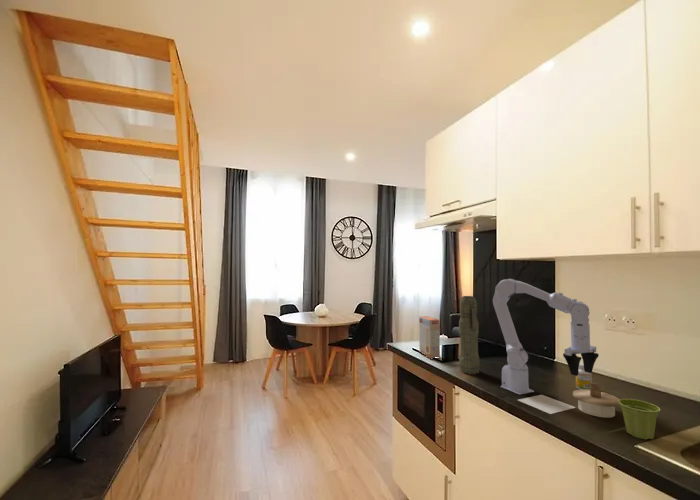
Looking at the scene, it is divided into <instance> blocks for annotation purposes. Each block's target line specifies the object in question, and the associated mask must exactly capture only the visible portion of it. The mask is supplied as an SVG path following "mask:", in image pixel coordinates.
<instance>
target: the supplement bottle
mask: <svg viewBox="0 0 700 500" xmlns="http://www.w3.org/2000/svg"><path fill="white" fill-rule="evenodd" d="M592 375H593V373H588V372H585V370H584V364H583V362H580V363H579V371H578V376H575V388H577V390H581V389H585V390H590V383H593V377H592Z"/></svg>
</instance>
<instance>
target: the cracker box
mask: <svg viewBox="0 0 700 500" xmlns="http://www.w3.org/2000/svg"><path fill="white" fill-rule="evenodd" d="M418 319H419V320H418V321H419V322H418V324H419V325H418V326H419V331H418V332H419V335H418V336H419V338H418V339H419V345H418V346H419V349H418V350H419V352H421V353H422V354H424V355H426V356H427V357H429V358H435V357H440V353H441V352H440V351H441V350H440V342H441V341H440V340H441V339H440V319H437V318H434V317H431V316H429V315H427V316H426V315H425V316H423V315H422V316H419V318H418ZM422 354H421V355H422ZM424 355H423V356H424ZM427 357H426V358H427ZM429 358H428V359H429ZM440 358H441V357H440Z"/></svg>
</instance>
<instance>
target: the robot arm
mask: <svg viewBox="0 0 700 500" xmlns="http://www.w3.org/2000/svg"><path fill="white" fill-rule="evenodd" d="M515 294H527V295H530V296H533V297H535V298H537V299H540V300H542V301H545V302H546V303H547V305H548V306H549V308H553V309H555V310H558V311H559V312H563V313H565V314H570V316H571V317H570V319H571V322H570V343H571V345H570V347H567V348H564V352H563V354H562V356H563V358H564V360H565V361H566V363H567V366H568V368H569V372H570V375H572V376H575V377H576V376H578V371H579V363H581V360H582V363H583V364H584V370H585V372H588V373H592V372H593V369H594V366H595V364H596V361H597V359H598V358H599V353H597V346H595V345H591V335H590V334H591V329H590V327H591V326H590V323H589V322H590V318H589V316H590V307H589V306H588V305H587V304H586V303H585V302H583V301H578V299H576V298H574V299H573V298H571V297H568V296H565V295H564V293H562V292H553V293H549V292H547V291H545V290H542V289H540V288H538V287H535V286H533V285H531V284H529V283H526V282H523V281H522V280H521V281H520V280H516V279H513V278H507V279H506V278H505V279H502V280H500V281H499V282H498V283H497V285H496V286H495V291H494V294H493V297H492V304H493V308H494V311H495V314H496V316H497V317H496V318H497V320H498V323H499V326H500V329H501V332H502V335H503V338H504V339H503V340H504V342H505V346H506V347H505V348H506V353H507V354H506V355H507V356H506V357H507V358H506V361H507V364H505V365H504V366H503V367H502V368H501V385H500V388H502V389H505V390H508V391H509V392H513V393H515V394H517V395H526V394H530V393H535V391H534V390H533V389H531V388H530V387H529V367H528V365H527V362H528V360H529V355H528V353H527V351H526V350H525V349H524V348H523V344H522V343H521V342H520V339H519V337H518V335H517V331H516V328H515V325H514V322H513V319H512V316H511V313H510V310H509V307H508V305H507V303H508V302H509V301H510V298H511V297H512V296H513V295H515ZM579 354H580V356H578V355H579ZM592 374H593V373H592Z"/></svg>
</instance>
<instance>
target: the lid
mask: <svg viewBox="0 0 700 500" xmlns="http://www.w3.org/2000/svg"><path fill="white" fill-rule="evenodd" d="M572 397H574V398H575V399H576V400H577V401H578V400H580V401H583V402H586V403H589V404H593V405H599V406H608V407H612V406H615V407H618V406H620V404H619V402H618V400H620V398H619V397H617V396H615V395H613V394H611V393H607V392H603V391H602V386H601V384H600V383H597V382H592V383H590V390H585V389H581V390H580V389H575V390H573V391H572Z"/></svg>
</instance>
